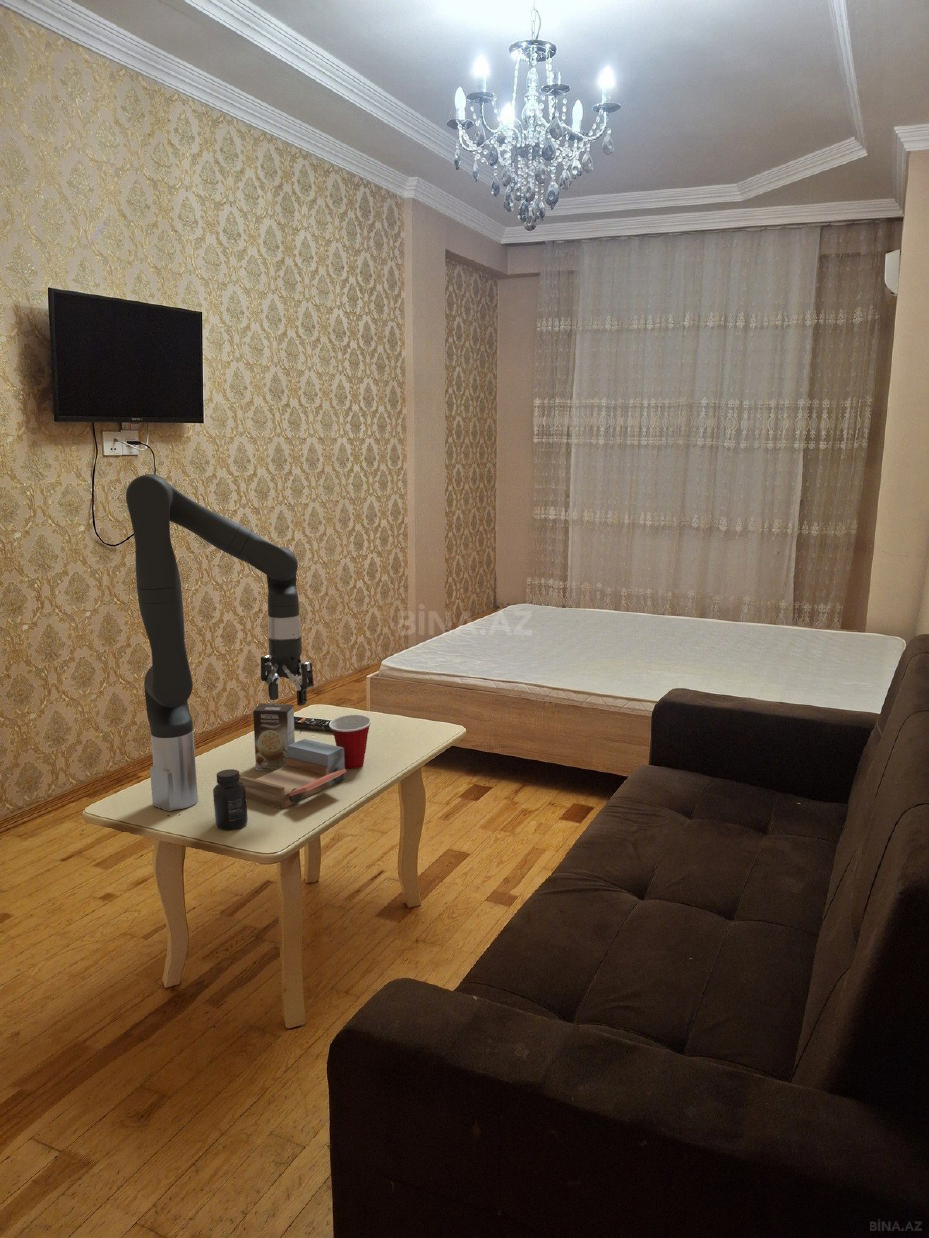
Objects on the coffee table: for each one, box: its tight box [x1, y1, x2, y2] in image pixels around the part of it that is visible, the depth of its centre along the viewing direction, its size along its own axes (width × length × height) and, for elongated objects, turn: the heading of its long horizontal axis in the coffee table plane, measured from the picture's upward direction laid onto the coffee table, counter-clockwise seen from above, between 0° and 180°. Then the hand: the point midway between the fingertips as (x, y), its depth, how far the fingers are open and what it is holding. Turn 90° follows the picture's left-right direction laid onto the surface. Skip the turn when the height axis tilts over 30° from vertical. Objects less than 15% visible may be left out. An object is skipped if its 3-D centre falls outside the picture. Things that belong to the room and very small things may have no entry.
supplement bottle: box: [212, 768, 248, 832], centre depth 195 cm, size 7×7×12 cm
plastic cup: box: [328, 714, 372, 770], centre depth 230 cm, size 11×11×12 cm
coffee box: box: [252, 702, 296, 772], centre depth 229 cm, size 9×6×16 cm
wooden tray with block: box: [240, 738, 346, 810], centre depth 215 cm, size 22×14×8 cm, turn 147°
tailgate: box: [289, 768, 347, 796], centre depth 207 cm, size 14×1×6 cm
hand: (287, 702), depth 209 cm, fingers open, 8 cm apart
